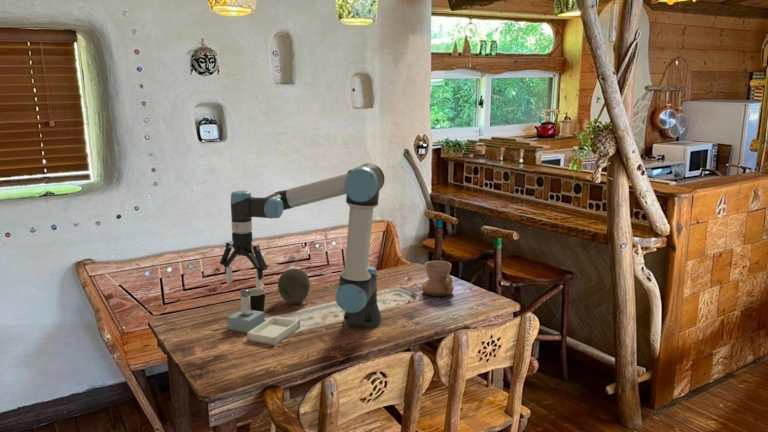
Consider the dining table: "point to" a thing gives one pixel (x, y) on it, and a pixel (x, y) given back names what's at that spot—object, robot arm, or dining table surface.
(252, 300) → the coffee mug
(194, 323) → the dining table surface
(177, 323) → the dining table surface
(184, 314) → the dining table surface
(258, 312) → the block
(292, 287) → the cantaloupe
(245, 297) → the pin
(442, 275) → the ceramic jug
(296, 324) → the tray
